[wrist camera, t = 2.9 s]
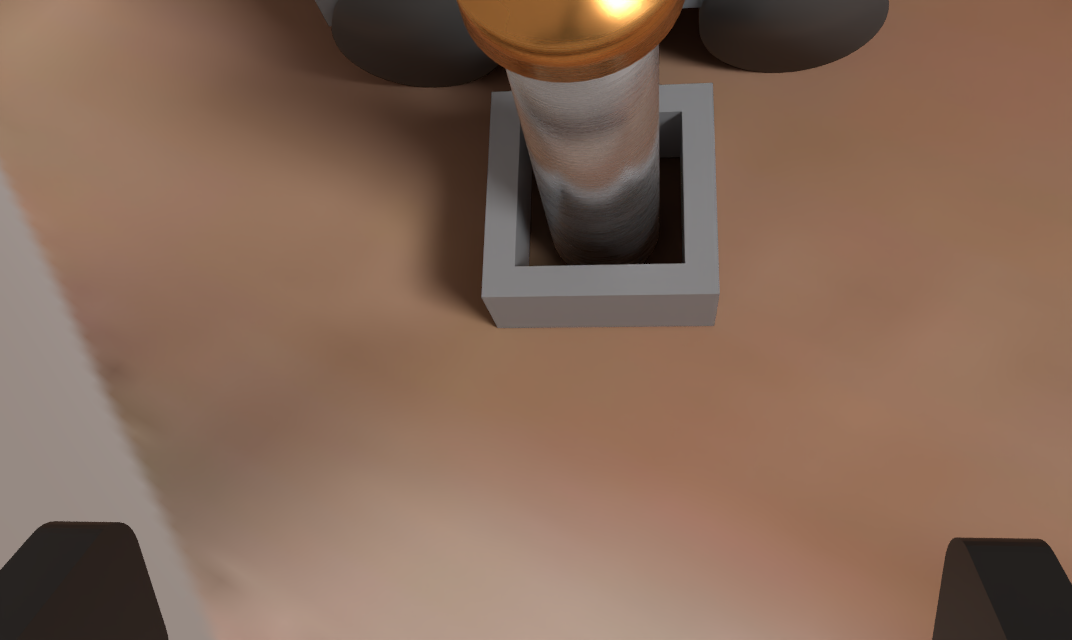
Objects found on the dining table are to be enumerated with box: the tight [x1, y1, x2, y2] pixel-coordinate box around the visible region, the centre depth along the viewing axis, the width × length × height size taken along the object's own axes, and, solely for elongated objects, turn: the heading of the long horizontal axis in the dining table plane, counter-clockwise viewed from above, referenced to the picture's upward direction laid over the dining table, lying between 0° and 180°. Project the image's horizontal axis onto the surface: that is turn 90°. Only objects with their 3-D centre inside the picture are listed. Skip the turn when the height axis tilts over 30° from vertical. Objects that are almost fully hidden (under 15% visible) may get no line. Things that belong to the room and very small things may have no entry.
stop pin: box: [457, 0, 685, 266], centre depth 21 cm, size 4×4×12 cm
